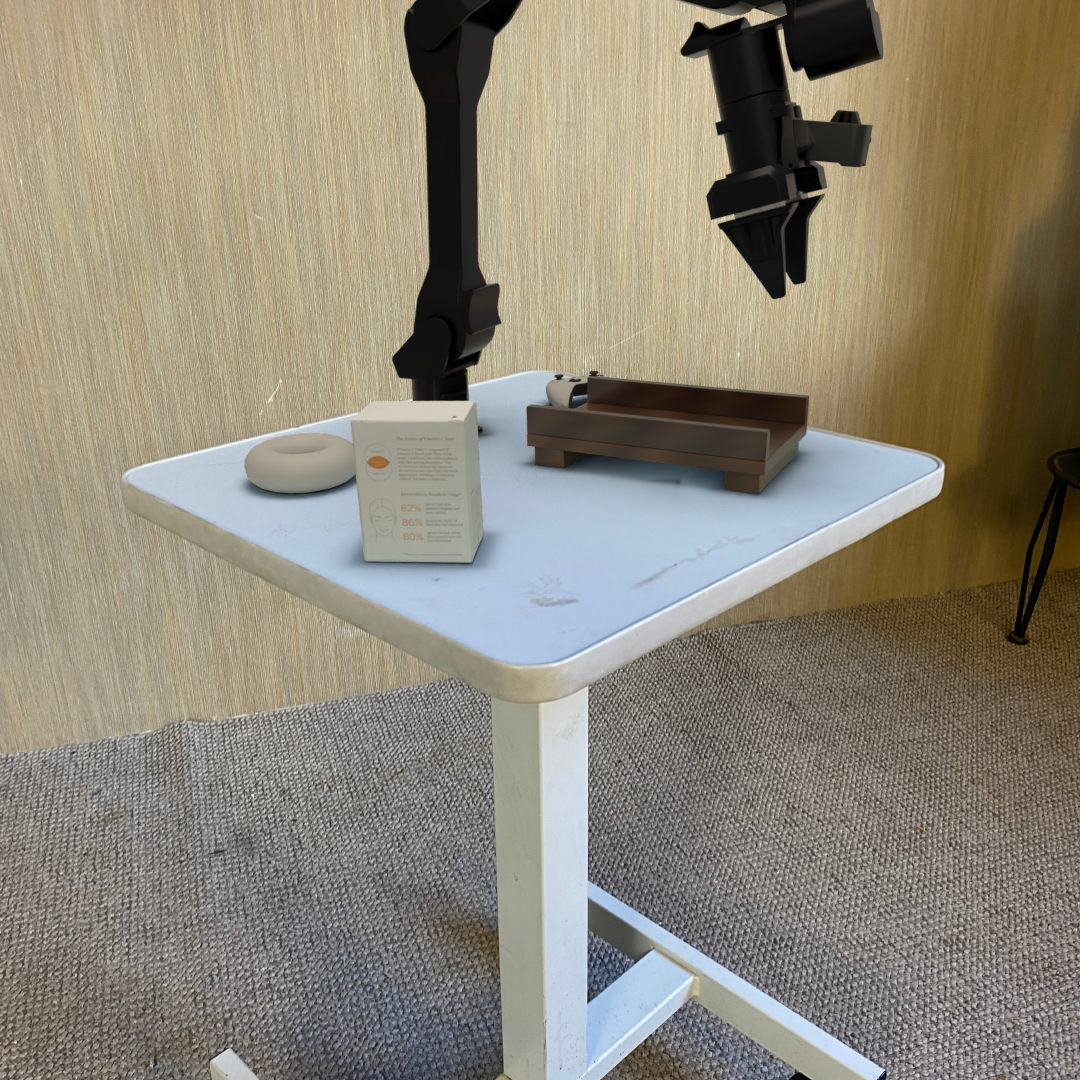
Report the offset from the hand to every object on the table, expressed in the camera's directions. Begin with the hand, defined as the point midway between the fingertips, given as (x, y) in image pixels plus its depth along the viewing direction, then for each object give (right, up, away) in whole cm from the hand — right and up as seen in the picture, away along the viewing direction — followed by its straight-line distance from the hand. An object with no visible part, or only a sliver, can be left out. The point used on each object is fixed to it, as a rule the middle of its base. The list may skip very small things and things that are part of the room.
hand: (790, 290), depth 89 cm
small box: (-30, -22, -12) cm, 39 cm away
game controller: (-16, -6, +28) cm, 33 cm away
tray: (-10, -14, +8) cm, 18 cm away
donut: (-42, -16, +4) cm, 45 cm away
